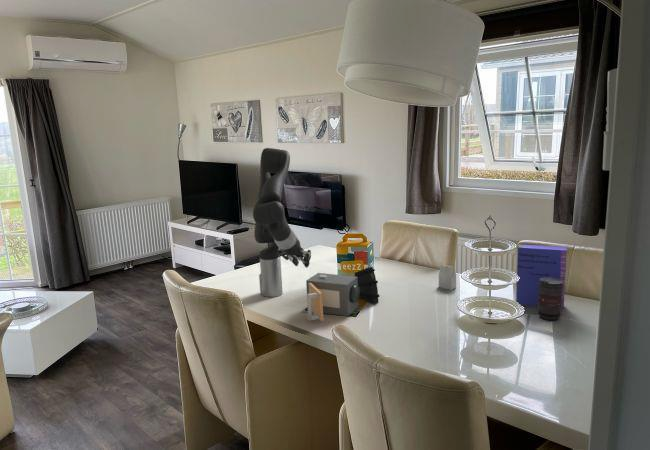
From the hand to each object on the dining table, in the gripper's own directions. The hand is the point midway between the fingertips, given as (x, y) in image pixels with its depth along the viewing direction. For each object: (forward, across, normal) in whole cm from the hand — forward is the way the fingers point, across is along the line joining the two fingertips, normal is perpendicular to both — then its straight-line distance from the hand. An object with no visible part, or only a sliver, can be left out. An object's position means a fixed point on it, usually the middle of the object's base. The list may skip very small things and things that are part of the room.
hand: (302, 264), depth 196 cm
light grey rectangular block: (+52, -45, -26) cm, 73 cm away
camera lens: (+35, -88, -9) cm, 95 cm away
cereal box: (+44, -84, -19) cm, 97 cm away
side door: (+15, -3, +14) cm, 21 cm away
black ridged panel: (+35, -16, -6) cm, 39 cm away
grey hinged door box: (+25, -7, +5) cm, 27 cm away
